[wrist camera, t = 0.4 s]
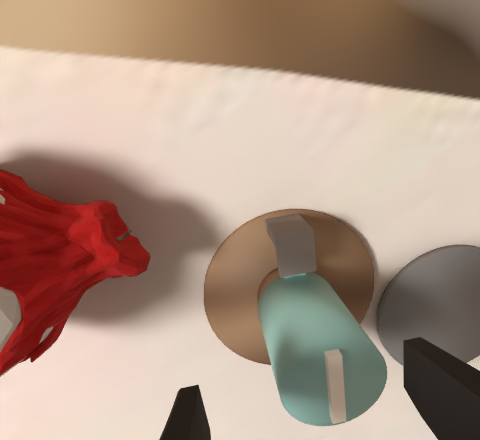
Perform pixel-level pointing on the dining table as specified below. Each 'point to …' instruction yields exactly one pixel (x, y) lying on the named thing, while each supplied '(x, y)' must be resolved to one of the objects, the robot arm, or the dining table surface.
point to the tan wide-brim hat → (281, 272)
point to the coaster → (434, 303)
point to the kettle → (318, 351)
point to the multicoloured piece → (53, 264)
